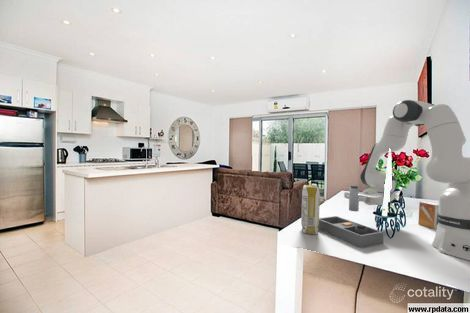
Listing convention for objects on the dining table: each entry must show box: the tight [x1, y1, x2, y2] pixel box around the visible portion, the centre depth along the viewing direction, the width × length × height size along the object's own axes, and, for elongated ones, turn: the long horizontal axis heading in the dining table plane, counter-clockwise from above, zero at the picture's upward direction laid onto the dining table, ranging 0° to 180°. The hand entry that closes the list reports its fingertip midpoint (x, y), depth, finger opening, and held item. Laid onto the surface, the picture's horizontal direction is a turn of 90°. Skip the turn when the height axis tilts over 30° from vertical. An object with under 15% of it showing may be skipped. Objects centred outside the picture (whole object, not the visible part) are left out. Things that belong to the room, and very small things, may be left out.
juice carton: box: [300, 183, 321, 235], centre depth 112 cm, size 9×8×24 cm
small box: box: [418, 200, 439, 230], centre depth 126 cm, size 8×6×13 cm
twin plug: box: [355, 224, 367, 235], centre depth 102 cm, size 5×5×5 cm
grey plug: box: [348, 185, 360, 212], centre depth 120 cm, size 5×5×13 cm
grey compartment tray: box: [318, 215, 384, 249], centre depth 109 cm, size 26×14×6 cm, turn 23°
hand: (352, 198), depth 120 cm, fingers closed on grey plug, 5 cm apart
